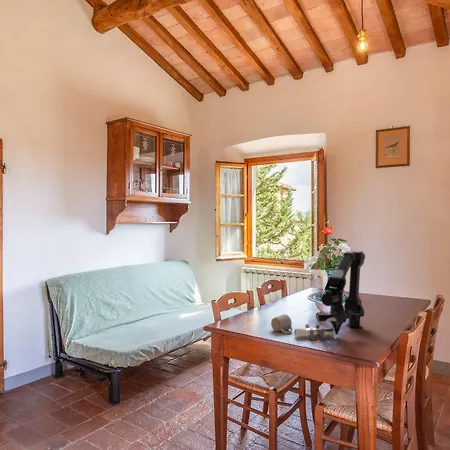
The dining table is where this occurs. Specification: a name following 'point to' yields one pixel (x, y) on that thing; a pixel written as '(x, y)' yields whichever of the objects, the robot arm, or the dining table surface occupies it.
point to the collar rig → (313, 333)
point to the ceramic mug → (282, 324)
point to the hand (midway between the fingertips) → (336, 334)
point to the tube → (306, 333)
